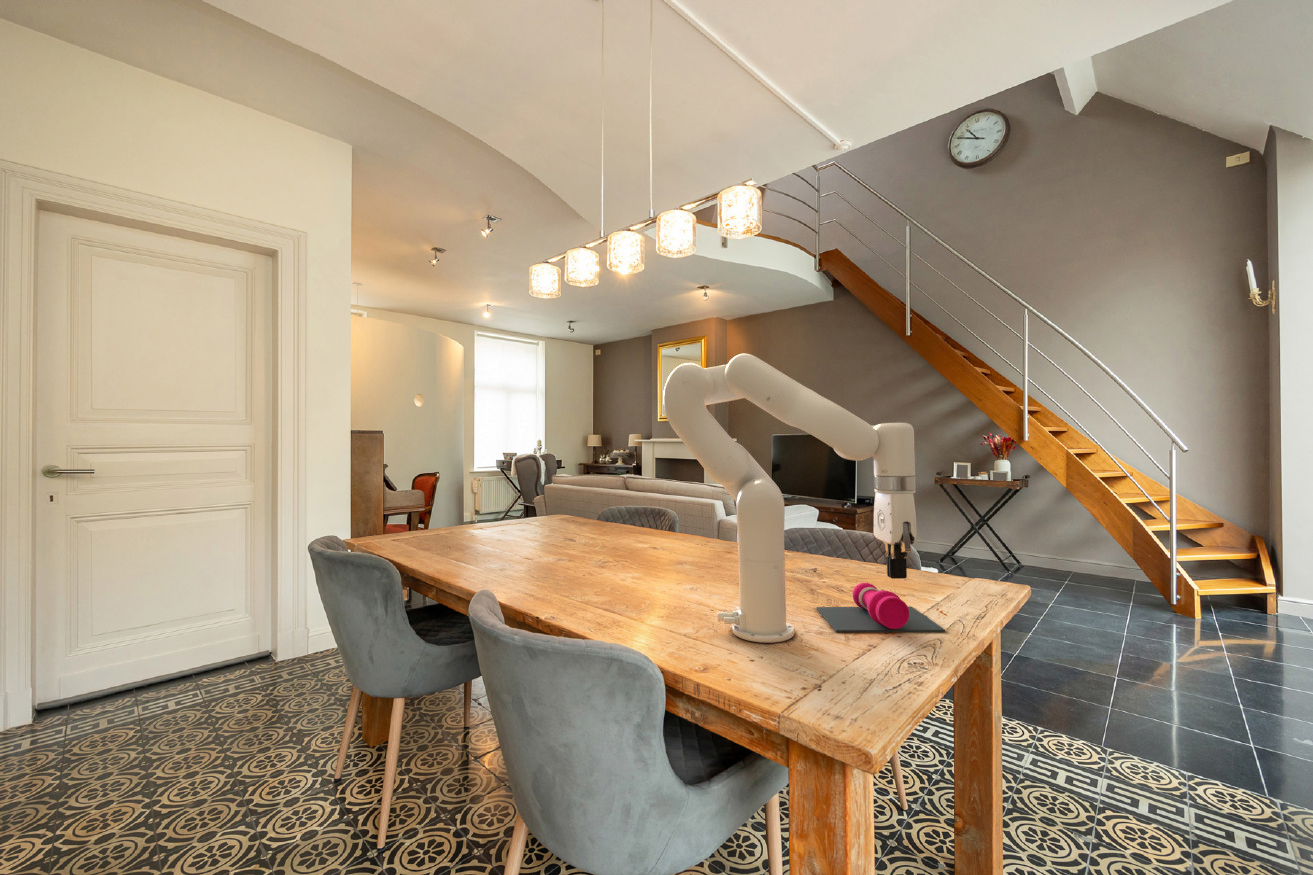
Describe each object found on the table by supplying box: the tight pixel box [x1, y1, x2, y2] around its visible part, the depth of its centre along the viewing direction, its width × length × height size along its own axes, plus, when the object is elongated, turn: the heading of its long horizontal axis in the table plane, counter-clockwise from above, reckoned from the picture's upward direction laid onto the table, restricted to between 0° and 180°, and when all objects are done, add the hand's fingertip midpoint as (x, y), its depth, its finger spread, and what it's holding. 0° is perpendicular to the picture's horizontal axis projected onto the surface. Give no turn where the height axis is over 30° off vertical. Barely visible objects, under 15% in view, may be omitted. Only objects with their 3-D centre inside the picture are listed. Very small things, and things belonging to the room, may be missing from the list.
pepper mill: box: [851, 582, 909, 629], centre depth 118 cm, size 7×7×20 cm
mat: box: [816, 606, 946, 633], centre depth 118 cm, size 22×16×1 cm
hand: (896, 577), depth 106 cm, fingers closed
